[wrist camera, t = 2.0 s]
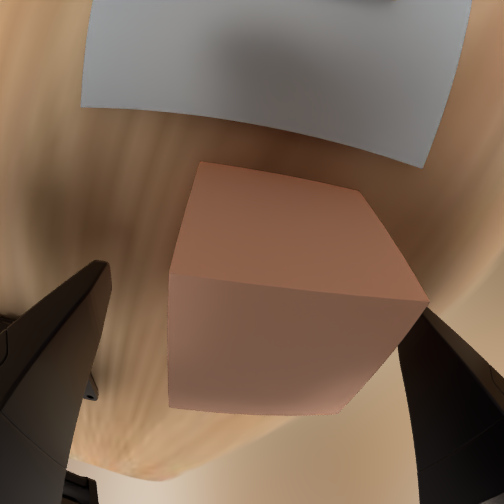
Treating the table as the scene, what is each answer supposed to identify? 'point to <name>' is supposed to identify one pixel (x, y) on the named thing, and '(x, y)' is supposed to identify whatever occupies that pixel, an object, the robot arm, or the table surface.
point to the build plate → (284, 65)
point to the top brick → (281, 295)
